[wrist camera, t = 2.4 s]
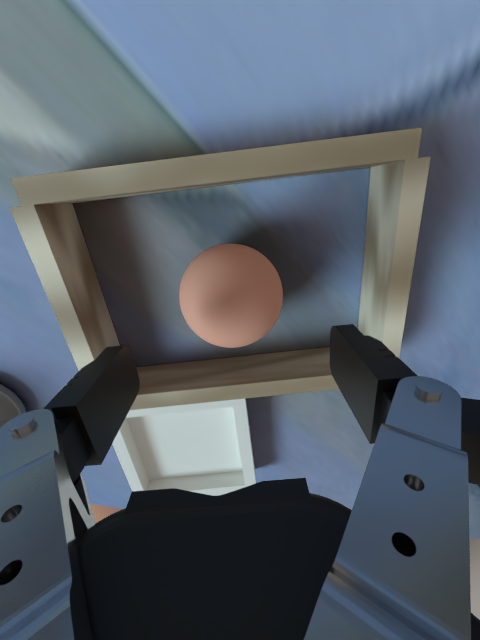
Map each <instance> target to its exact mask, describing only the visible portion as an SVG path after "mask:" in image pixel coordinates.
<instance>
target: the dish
mask: <svg viewBox="0 0 480 640" xmlns="http://www.w3.org/2000/svg"><path fill="white" fill-rule="evenodd" d="M112 444H113V447H114V449H115V451H116V454H117V456H118V458H119V461H120V463H121V466H122V468H123V470H124V473H125V475H126V477H127V480H128V482H129V485H130V487H131V489H132V492H133V491H145V490H158V489H171V488H176V489H181V490H186V491H191V492H196V493H201V494H206V495H211V496H215V495H223V494H226V493H229V492H232V491H235V490H238V489H241V488H244V487H247V486H250V485H253V484H256V473H255V464H254V456H253V448H252V440H251V432H250V424H249V416H248V408H247V400H246V398H245V399H235V400H226V401H216V402H206V403H196V404H186V405H176V406H167V407H157V408H147V409H137V410H129V412H128V414H127V416H126V418H125V420H124V422H123V424H122V426H121V427H120V429H119V431H118V433H117V435H116V437H115V439H114V441H113V443H112Z"/></svg>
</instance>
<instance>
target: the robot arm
mask: <svg viewBox="0 0 480 640" xmlns="http://www.w3.org/2000/svg"><path fill="white" fill-rule="evenodd" d="M330 370H331V374H332V376H333V378H334V380H335V382H336V384H337V385H338V387H339V389H340V391H341V393H342V394H343V396H344V398H345V400H346V401H347V403H348V405H349V407H350V409H351V410H352V412H353V414H354V416H355V418H356V419H357V421H358V423H359V425H360V427H361V428H362V430H363V432H364V434H365V435H366V437H367V439H368V441H369V443H370V444H372V443H374V446H373V449H372V452H371V455H370V458H369V461H368V464H367V467H366V470H365V473H364V476H363V479H362V482H361V485H360V488H359V491H358V494H357V497H356V500H355V503H354V506H353V508H352V510H350V509H349V508H347V507H345V506H343V505H342V504H340V503H338V502H336V501H333V500H331V499H329V498H326V497H323V496H320V495H316V494H311V493H309V490H308V486H307V482H306V478H298V479H285V480H273V481H262V482H259V483H256V484H253V485H250V486H247V487H244V488H241V489H238V490H235V491H232V492H229V493H226V494H223V495H220V496H211V495H206V494H201V493H196V492H191V491H186V490H181V489H176V488H171V489H158V490H145V491H133V492H132V493H131V496H130V499H129V502H128V504H127V507H126V508H125V509H122V510H120V511H118V512H116V513H114V514H112V515H110V516H108V517H106V518H104V519H103V520H101V521H99V522H98V523H96V524H95V520H94V516H93V512H92V509H91V505H90V501H89V497H88V493H87V489H86V485H85V481H84V478H83V476H82V474H81V472H82V470H83V468H84V466H89V465H101V464H102V462H103V460H104V458H105V456H106V454H107V452H108V450H109V449H110V447H111V445H112V443H113V441H114V439H115V437H116V435H117V433H118V431H119V429H120V427H121V426H122V424H123V422H124V420H125V418H126V416H127V414H128V412H129V410H130V408H131V406H132V404H133V402H134V401H135V399H136V397H137V395H138V392H139V388H140V380H139V376H138V372H137V369H136V366H135V362H134V359H133V355H132V352H131V349H130V348H129V346H127V345H122V346H111V347H106V348H105V349H104V350H103V351H102V352H101V354H100V355H99V356H98V357H97V358H96V359H95V360H94V361H92V362H91V363H89V364H87V365H86V366H84V367H83V368H81V370H80V371H79V372H78V373H77V374H76V375H75V376H74V378H73V379H71V380H70V381H69V382H68V383H67V386H64V387H63V389H62V390H61V391H60V392H59V393H58V394H57V395H56V396H55V397H54V398H53V399H52V400H51V401H50V402H49V403H48V404H47V405H46V407H45V408H44V409H37V410H32V411H29V412H26V413H23V414H21V415H19V416H17V417H15V418H13V419H11V420H10V421H8V422H7V423H5V424H4V425H3V426H2V427H0V640H480V620H479V619H478V618H476V617H475V616H474V615H473V614H472V613H471V606H470V553H469V552H470V550H469V547H470V546H469V484H468V483H473V484H477V485H478V486H479V487H480V400H475V399H467V398H461V397H460V395H459V393H458V392H457V391H456V390H455V389H454V388H452V387H451V386H449V385H447V384H446V383H444V382H441V381H439V380H436V379H433V378H428V377H422V376H417V375H416V374H415V373H414V372H413V371H412V370H411V369H410V368H409V367H408V366H407V365H405V364H404V363H403V362H402V361H401V360H400V359H399V358H398V357H396V356H395V354H394V353H393V352H392V351H391V350H389V348H387V347H386V346H385V345H384V344H383V343H382V342H381V341H379V340H377V339H375V338H373V337H371V336H369V335H366V336H364V335H363V334H362V333H361V332H360V331H359V330H358V329H357V328H356V327H355V326H354V325H353V324H350V325H339V326H332V328H331V335H330Z"/></svg>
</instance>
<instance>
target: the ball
mask: <svg viewBox="0 0 480 640" xmlns="http://www.w3.org/2000/svg"><path fill="white" fill-rule="evenodd" d="M179 300H180V307H181V311H182V314H183V316H184V318H185V320H186V322H187V324H188V325H189V327H190V328H191V329H192V330H193V331H194V332H195V333H196V334H197V335H198V336H199V337H201V338H202V339H203V340H205V341H207V342H209V343H211V344H213V345H216V346H220V347H227V348H236V347H243V346H246V345H249V344H252V343H254V342H256V341H257V340H259V339H261V338H262V337H263V336H265V335H266V334H267V333H268V332H269V331H270V330H271V328H272V327H273V326H274V324H275V323H276V321H277V319H278V317H279V315H280V312H281V308H282V302H283V289H282V284H281V280H280V277H279V275H278V272H277V271H276V269H275V267H274V266H273V265H272V263H271V262H270V261H269V260H268V259H267V258H266V257H265V256H264V255H263V254H261V253H260V252H258V251H257V250H255V249H253V248H251V247H248V246H245V245H240V244H222V245H217V246H214V247H211V248H209V249H207V250H205V251H204V252H202V253H201V254H199V255H198V256H197V257H196V258H195V259H194V260H193V261H192V262H191V263H190V264H189V266H188V267H187V269H186V271H185V273H184V275H183V278H182V281H181V284H180V291H179Z"/></svg>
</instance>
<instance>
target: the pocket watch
mask: <svg viewBox="0 0 480 640" xmlns="http://www.w3.org/2000/svg"><path fill="white" fill-rule="evenodd" d="M23 413H26V410H25V406H24V405H23V403H22V402H21V400H20V399H19V398H18V397H17V396H16V395H15V394H14V393H13V392H12V391H11V390H9V389H8V388H6V387H4V386H3V385H1V384H0V427H2V426H3V425H4V424H5V423H7V422H8V421H10V420H11V419H13V418H15V417H17V416H19V415H21V414H23Z"/></svg>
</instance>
